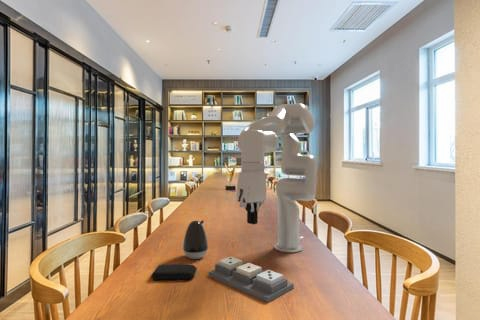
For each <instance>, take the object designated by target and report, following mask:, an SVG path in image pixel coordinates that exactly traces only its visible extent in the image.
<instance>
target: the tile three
mask: <svg viewBox="0 0 480 320" xmlns="http://www.w3.org/2000/svg"><path fill="white" fill-rule="evenodd" d="M264 271H265V272H262V273H260V274H258V275H257V280H258V281H260V282H263V283H265V284H268V285H270V286H273V285H275V284H277V283H279V282H281V281H283V278H284V274H282V273H279V272H275V271H273V270H271V269H266V270H264Z"/></svg>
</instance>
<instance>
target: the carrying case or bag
mask: <svg viewBox="0 0 480 320" xmlns="http://www.w3.org/2000/svg"><path fill="white" fill-rule="evenodd" d="M197 270H198V268H197V267H196V265H194V264H173V263H172V264H159V265H158V266H157V267H156V268H155V269H154V271H153V272H152V274H151V275H150V278H151V279H152V280H153V281H157V282H160V281H161V282H164V281H165V282H166V281H167V282H168V281H171V282H173V281H174V282H177V281H181V282H186V281H192V280H193V278H194V277H195V275H196V271H197Z"/></svg>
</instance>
